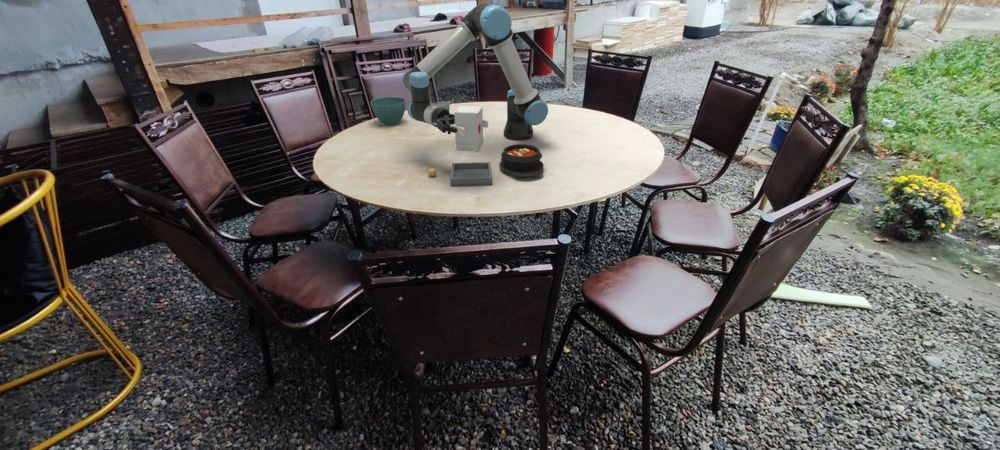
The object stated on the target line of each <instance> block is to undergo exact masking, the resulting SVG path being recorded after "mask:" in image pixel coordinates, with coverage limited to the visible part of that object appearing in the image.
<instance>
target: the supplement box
mask: <svg viewBox="0 0 1000 450" xmlns="http://www.w3.org/2000/svg"><path fill="white" fill-rule="evenodd" d="M483 114H484V113H483V107H482V106H474V105H473V106H470V105H460V106H459V107H458V108H457V109H456V110H455V111H454V116H455V124H454V125H456V126H459V127H462V128H465V136H462V135H459V134H456V133H454V136H455V151H462V152H474V153H479V152H480V149H481V148H482V147H483V145H484V132H483V131H484V127H483V119H484V118H483V117H484V115H483Z"/></svg>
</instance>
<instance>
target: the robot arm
mask: <svg viewBox="0 0 1000 450" xmlns="http://www.w3.org/2000/svg"><path fill="white" fill-rule="evenodd" d="M512 25H513V24H512V17H511V15H510V13H509V11H507V9H505V7H502V6H501V5H498V4H489V3H481V4H477V5H476V6H474V7H473V8H472V9H470V11H468V13H466V15H464V17H463V18H462V19H460V21H458V26H457V27H456V28H455V29H454V30H452V32H450V33H449V34H448V35H447V36H446V37H445V38H444V39H443V40H442V41H441V42H440V43H439V44H438V45H437V46H435V47H434V48H433V49H432V50H431V51H430V52H429V53H428V54H427V55H426V56H424V58H422V60H420V61H419V62H418V63H417V64H416V65H415V66H414V67H413V68H412V69H411V70H406V71H405V72H404V73H403V74H402V79H401V80H402V83H403V84H404V87H405V88H406V89H408V91H410V96H411V102H409V104H408V108H407V114H408V116H409V117H410V118H411V119H413V120H415V121H417V122H421V123H424V124H427V125H432V127H435V128H437V129H438V130H439V131H441V132H442V133H443V134H446V133H447V134H448V135H451V134H455V133H456V134H459V135H462V136H465V128H462V127H459V126H456V125H455V116H454V114H453V113H450V110H449V111H448V110H446V109H443V108H440V107H436V106H432V105H431V104H430V102H431V94H430V93H431V92H430V80H429V79H431V78H432V77H433V76H434V75H436V73H437V72H438V71H439V70H441V69H442V68H443V67H444V66H445V65H446V64H447V63H448V62H449V61H450V60H451V59H452V58H454V57H455V56H456V55H458V53H459V52H460V51H461V50H462V49H463V48H465V46H467V45H468V44H469V43H470V42H472V41H473V42H474V41H476V40H477V39H478V38H479V37H481V36H482V37H483V40H484V42H485V44H486V46H487V47H488V48H491V49H492V50H493V52H494V54H495V56H496V58H497V60H498V62H499V65H500V67H501V69H502V71H503V73H504V75H505V77H506V80H507V82H508V84H509V86H510V89H509V90H507V96H506V107H507V108H506V116H507V117H506V123H505V126H504V128H503V138H506V139H508V140H512V141H525V140H531V139H532V138H534V133H535V132H534V128H533V126H538V125H540V124H542V123H543V122H544V121H545V120H546V119H547V116H548V114H549V106H548V104H547V103H546V102H545V101H544V100H542V98H541V95H540V94H539V91H538V89H537V88H533V86H532V83H531V81H530V79H529V77H528V74H527V72H526V69H525V67H524V65H523V63H522V60H521V58H520V55H519V53H518V51H517V48H516V46H515V44H514V41H513V35H514V32H513V29H512ZM483 128H486V129H487V128H489V120H487V119H484V118H483Z"/></svg>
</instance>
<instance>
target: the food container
mask: <svg viewBox="0 0 1000 450" xmlns="http://www.w3.org/2000/svg"><path fill="white" fill-rule="evenodd" d="M430 104H431V105H432V106H436V107H440V108H443V109H446V110H448V111H449V112H450V105H451V101H450V99H448V100H446V101H437V102H431V101H430Z"/></svg>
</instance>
